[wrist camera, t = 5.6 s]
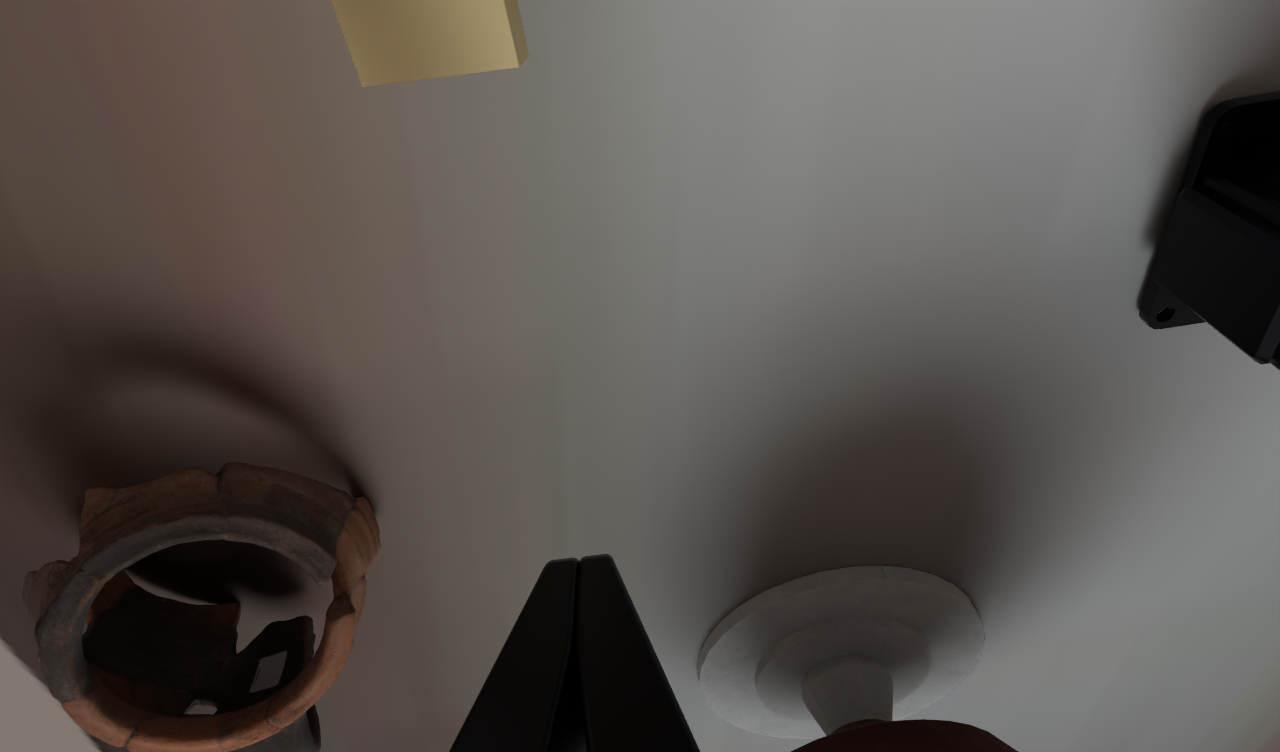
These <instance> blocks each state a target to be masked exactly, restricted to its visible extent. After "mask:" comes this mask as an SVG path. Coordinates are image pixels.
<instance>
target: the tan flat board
mask: <svg viewBox="0 0 1280 752" xmlns="http://www.w3.org/2000/svg"><path fill="white" fill-rule="evenodd" d="M331 1H332V4H333V7H334V10H335V12H336V15H337V18H338V21H339V23H340V26H341V29H342V32H343V34H344V37H345V40H346V43H347V45H348V48H349V51H350V54H351V56H352V59H353V62H354V65H355V67H356V70H357V73H358V75H359V78H360V81H361V84H362V86H363V87H367V86H375V85H383V84H391V83H399V82H407V81H415V80H423V79H431V78H439V77H447V76H455V75H463V74H471V73H479V72H487V71H494V70H502V69H510V68H518V67H520V66H521V64H522V63H523V62H524V61H525V59H526V58H527V57H528V55H529V53H528V48H527V44H526V39H525V35H524V30H523V26H522V21H521V17H520V12H519V8H518V3H517V0H331Z"/></svg>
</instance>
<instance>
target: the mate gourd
mask: <svg viewBox="0 0 1280 752" xmlns="http://www.w3.org/2000/svg"><path fill="white" fill-rule="evenodd" d="M984 640H985V637H984V630H983V624H982V622H981V620H980V618H979V616H978V614H977V612H976V610H975V608H974V606H973V605H972V603H971V601H970V600H969V598H968V596H967V595H966V594H964V593H963V592H962V591H961V590H960V589H959V588H957V587H956V586H955V585H954V584H952V583H950V582H948V581H946V580H944V579H942V578H940V577H938V576H936V575H934V574H930V573H926V572H922V571H919V570H915V569H911V568H903V567H893V566H883V565H880V566H852V567H846V568H839V569H833V570H827V571H821V572H817V573H814V574H810V575H806V576H803V577H799V578H796V579H792V580H789V581H787V582H785V583H782V584H780V585H777V586H775V587H773V588H770V589H768V590H765V591H763V592H761V593H760V594H758V595H756V596H755V597H753V598H751V599H750V600H748V601H746V602H744V603H743V604H741V605H739V606H738V607H737V608H736V609H734V610H733V611H732V612H731V613H730V614H728V615H727V616H726V617H725V618H723V619H722V620H721V621H720V622H719V623H718V625H717V626H716V627H715V628H714V629H713V631H712V632H711V633H710V634H709V635H708V637H707V638H706V641H705V643H704V645H703V647H702V649H701V651H700V653H699V660H698V667H697V670H698V677H699V684H700V688H701V693H702V697H703V698H704V700H705V702H706V703H707V705H708V706H709V708H710V709H711V710H712V711H713V712H714V713H716V714H717V715H718V716H719V717H720V718H721V719H723V720H724V721H726V722H728V723H730V724H732V725H734V726H736V727H738V728H740V729H743V730H747V731H750V732H753V733H756V734H760V735H766V736H772V737H778V738H795V739H811V738H820V739H817V740H815V741H812V742H810V743H808V744H806V745H804V746H802V747H800V748H798V749H795V750H793V751H791V752H1018V751H1016V750H1015V749H1013V748H1012V747H1010V746H1009V745H1007V744H1006V743H1004V742H1003V741H1001V740H1000V739H998V738H997V737H995V736H994V735H992V734H991V733H989V732H988V731H985V730H982V729H980V728H977V727H974V726H972V725H968V724H962V723H957V722H952V721H942V720H924V719H923V720H903V721H899V720H902V719H904V718H906V717H908V716H910V715H913V714H915V713H917V712H919V711H921V710H923V709H925V708H927V707H928V706H930V705H932V704H933V703H935V702H937V701H938V700H940V699H942V698H943V697H944V696H946V695H947V694H948V693H949V692H951V691H952V690H953V689H954V688H956V687H957V686H958V685H959V684H960V683H961V682H962V681H963V680H964V679H965V678H966V677H967V676H968V674H969V673H970V672H971V671H972V670H973V668H974V666H975V665H976V663H977V661H978V659H979V658H980V656H981V653H982V649H983V644H984Z"/></svg>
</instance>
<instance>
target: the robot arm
mask: <svg viewBox="0 0 1280 752" xmlns="http://www.w3.org/2000/svg"><path fill="white" fill-rule="evenodd" d="M1231 117H1233V119H1232V120H1231V122H1230V124H1229V125H1228V126H1226V127H1225V128H1224V129H1222V128H1223V126H1224V124H1225V123H1226V121H1228V120H1229V119H1230V118H1231ZM1163 309H1164V310H1163ZM1161 310H1163V311H1161ZM1160 311H1161V312H1160ZM1159 312H1160V313H1159ZM1139 316H1140V318H1141V319H1142V320H1143V321H1144V322H1145V323H1146V324H1147V325H1148V326H1149V327H1151V328H1153V329H1164V328H1170V327H1177V326H1183V325H1190V324H1197V323H1203V322H1207V323H1208V324H1209V325H1211V326H1212V327H1213V328H1214V329H1216V330H1217V331H1218V332H1219V333H1221V334H1222V335H1223V336H1224V337H1226V338H1227V339H1228V340H1229V341H1231V342H1232V343H1233V344H1234V345H1236V346H1237V347H1238V348H1239V349H1241V350H1242V351H1243V352H1244V353H1246V354H1247V355H1248V356H1249V357H1251V358H1252V359H1253V360H1254V361H1256V362H1257V363H1260V364H1267V363H1271V364H1272V365H1274V366H1275V367H1276V368H1277V369H1279V370H1280V92H1274V93H1268V94H1262V95H1256V96H1250V97H1243V98H1237V99H1231V100H1227V101H1224V102H1221V103H1219V104H1218V105H1216V106H1215V107H1213V108H1212V109H1211V110H1210V111H1209V112H1208V113H1207V115H1206V116H1205V118H1204V119H1203V121H1202V123H1201V126H1200V129H1199V132H1198V135H1197V138H1196V141H1195V144H1194V147H1193V150H1192V153H1191V156H1190V159H1189V162H1188V165H1187V168H1186V171H1185V174H1184V177H1183V181H1182V184H1181V187H1180V190H1179V193H1178V196H1177V199H1176V202H1175V205H1174V208H1173V211H1172V214H1171V217H1170V220H1169V223H1168V226H1167V229H1166V232H1165V235H1164V238H1163V241H1162V244H1161V247H1160V250H1159V253H1158V256H1157V259H1156V262H1155V265H1154V268H1153V271H1152V274H1151V277H1150V280H1149V283H1148V286H1147V289H1146V292H1145V295H1144V298H1143V301H1142V304H1141V307H1140V312H1139ZM449 752H700V750H699V748H698V746H697V744H696V741H695V739H694V737H693V735H692V733H691V730H690V728H689V726H688V724H687V721H686V719H685V717H684V715H683V713H682V710H681V708H680V706H679V704H678V702H677V699H676V697H675V695H674V693H673V691H672V688H671V686H670V684H669V682H668V679H667V677H666V675H665V673H664V671H663V668H662V666H661V664H660V662H659V660H658V657H657V655H656V653H655V651H654V649H653V646H652V644H651V642H650V640H649V637H648V635H647V633H646V631H645V629H644V626H643V624H642V622H641V620H640V618H639V615H638V613H637V611H636V609H635V607H634V604H633V602H632V600H631V598H630V596H629V593H628V591H627V589H626V587H625V584H624V582H623V580H622V578H621V576H620V573H619V571H618V569H617V567H616V565H615V562H614V560H613V558H612V557H611V556H610V555H608V554H602V555H593V556H585V557H583V558H582V559H581V560H580V561H579V560H578V559H577V558H566V559H557V560H551V561H549V562H548V563H547V564H546V565H545V567H544V569H543V571H542V573H541V574H540V576H539V578H538V580H537V582H536V584H535V586H534V588H533V590H532V592H531V594H530V596H529V598H528V600H527V602H526V604H525V606H524V607H523V609H522V611H521V613H520V615H519V617H518V619H517V621H516V623H515V625H514V627H513V629H512V631H511V633H510V635H509V637H508V639H507V640H506V642H505V644H504V646H503V648H502V650H501V652H500V654H499V656H498V658H497V660H496V662H495V664H494V666H493V668H492V670H491V672H490V673H489V675H488V677H487V679H486V681H485V683H484V685H483V687H482V689H481V691H480V693H479V695H478V697H477V699H476V701H475V703H474V705H473V706H472V708H471V710H470V712H469V714H468V716H467V718H466V720H465V722H464V724H463V726H462V728H461V730H460V732H459V734H458V736H457V738H456V740H455V741H454V743H453V745H452V747H451V749H450V751H449Z"/></svg>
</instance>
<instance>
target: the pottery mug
mask: <svg viewBox="0 0 1280 752" xmlns="http://www.w3.org/2000/svg"><path fill="white" fill-rule="evenodd" d="M79 534H80V547H79V554H78V556H76V557H74V558H73V559H71V561H70V562H67V561H63V560H57V561H54V562H51V563H47V564H45V565H44V566H42V567H41V568H40V570H39V571H32V572H29V573H27V574H26V576H25V582H24V588H23V595H22V597H23V603H24V605H25V606H26V608H27V611H28V614H29V616H30V620H31V622H32V624H33V626H34V632H35V640H36V642H37V644H38V646H39V652H38V660H39V662H40V663H41V670H42V672H43V676H44V679H45V681H46V683H47V686H48V688H49V691H50V693H51V694H52V696H53V697H54V698H55V699H57V700H60V701H61V705H62V707H63V709H64V710H65V711H66V712H67V713H68V715H69V716H70V717H71V718H72V719H73V720H74V721H75V722H76V723H77V724H78V725H79V726H81V727H82V728H84V729H85V730H86V731H87V732H89V733H90V734H91V735H93V736H95V737H97V738H99V739H101V740H102V741H104V742H106V743H108V744H110V745H112V746H116V747H122V746H126V747H127V749H128V750H129V751H131V752H319V751H320V747H321V736H320V725H319V718H318V714H317V711H316V707H315V703H316V702H317V701H318V700H319V699H320V698H321V697H322V696H323V695H324V693H325V692H326V691H327V690H328V689H329V687H330V686H331V685H332V684H333V683H334V682H335V680H336V679H337V677H338V675H339V673H340V672H341V670H342V668H343V666H344V664H345V663H346V660H347V657H348V655H349V653H350V651H351V649H352V647H353V644H354V633H355V629H356V627H357V625H358V623H359V622H360V619H361V615H362V612H363V607H364V602H365V595H366V579H365V573H366V572H367V570H368V568H369V567H370V566H371V564H372V562H373V560H374V558H375V557H376V556H377V553H378V550H379V549H380V548H381V543H380V538H379V534H380V532H379V527H378V524H377V520H376V518H375V516H374V513H373V511H372V509H371V506H370V504H369V502H368V501H367V499H366V498H365V497H357V498H355V499H354V500H352V498H351V496H350V495H349V494H348V493H347V492H345V491H342V490H339V489H336V488H334V487H332V486H329V485H327V484H325V483H322V482H319V481H316V480H312V479H309V478H306V477H302V476H299V475H296V474H293V473H290V472H286V471H281V470H278V469H274V468H267V467H258V466H254V465H248V464H245V463H227V464H225V465H224V466H223V467H222V468H221V469H220V471H219V472H218V474H217V475H213V474H211V473H210V472H208V471H207V470H206V469H204V468H201V467H192V468H188V469H184V470H180V471H176V472H173V473H170V474H167V475H165V476H163V477H160V478H158V479H154V480H150V481H148V482H146V483H143V484H139V485H134V486H129V487H123V488H115V489H112V488H107V487H96V488H89V489H87V490H86V491H85V504H84V506H83V509H82V513H81V520H80V529H79ZM220 539H225V540H228V541H238V542H247V543H252V544H256V545H259V546H263V547H266V548H268V549H272V550H275V551H277V552H279V553H281V554H282V555H284V556H286V557H288V558H289V559H291V560H292V561H294V562H295V563H297V564H298V565H299V566H301V567H302V568H303V569H304V570H305V571H306V572H307V573H308V574H309V575H310V576H311V577H312V578H313V580H314V581H315V582H316V583H317V584H318V585H320V586H323V585H325V584H326V583H327V582H328V581H329V579H330V577H331V578H332V582H333V591H334V599H333V601H332V603H331V604H330V606H329V608H328V610H327V613H326V621H325V627H324V633H323V637H322V640H321V643H320V645H319V647H318V649H317V651H316V653H315V655H314V642H315V634H314V633H313V620H312V618H310V617H309V616H299V617H296V618H293V619H290V620H286V621H276V622H272V623H270V624H269V625H267V626H266V627H265V628H264V630H263V631H262V632H261V633H260V634H259V635H258V636H257V637H256V638H255V639H254V640H253V641H251V643H250V644H249V645H248V646H247V647H246V648H245V649H244V650H242V651H241V652H239V653H238V654H237V653H236V642H237V638H238V633H237V630H236V629H237V625H238V622H239V618H240V613H241V607H240V604H239V603H228V604H220V605H194V604H187V603H184V602H179V601H176V600H172V599H168V598H163V597H159V596H156V595H154V594H152V593H150V592H148V591H146V590H144V589H143V588H141V587H140V586H138V585H136V584H134V582H133V580H132V579H131V578H130V577H129V576H128V575H127V574H126V572H125V571H124V570H123V569H124V568H126V567H128V566H130V565H132V564H133V563H135V562H137V561H138V560H140V559H142V558H143V557H146V556H148V555H149V554H152V553H154V552H157V551H160V550H162V549H165V548H168V547H170V546H173V545H177V544H180V543H188V542H195V541H202V540H220ZM84 622H86V623H87V625H88V627H87V630H86V632H85V633H84V634H83V635H82V630H83V626H84ZM313 655H314V657H313ZM195 705H200V706H203V707H215V708H217V711H216V713H215V714H214V715H209V714H193V715H191V714H187V712H188V711H190V710H191V708H193V707H194V706H195Z"/></svg>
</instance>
